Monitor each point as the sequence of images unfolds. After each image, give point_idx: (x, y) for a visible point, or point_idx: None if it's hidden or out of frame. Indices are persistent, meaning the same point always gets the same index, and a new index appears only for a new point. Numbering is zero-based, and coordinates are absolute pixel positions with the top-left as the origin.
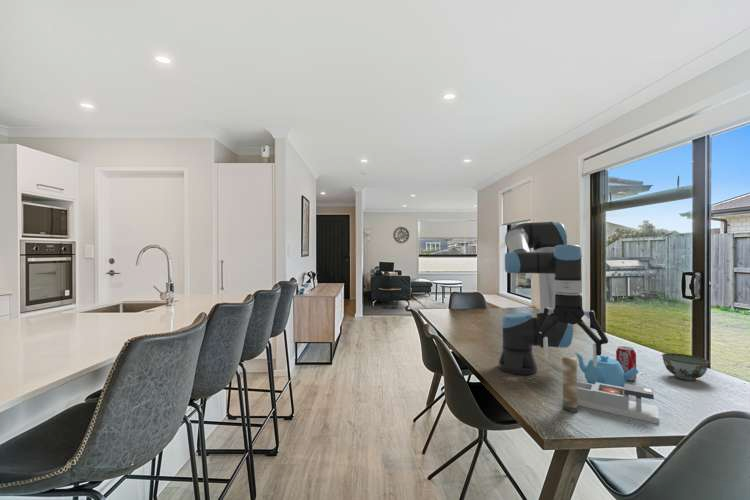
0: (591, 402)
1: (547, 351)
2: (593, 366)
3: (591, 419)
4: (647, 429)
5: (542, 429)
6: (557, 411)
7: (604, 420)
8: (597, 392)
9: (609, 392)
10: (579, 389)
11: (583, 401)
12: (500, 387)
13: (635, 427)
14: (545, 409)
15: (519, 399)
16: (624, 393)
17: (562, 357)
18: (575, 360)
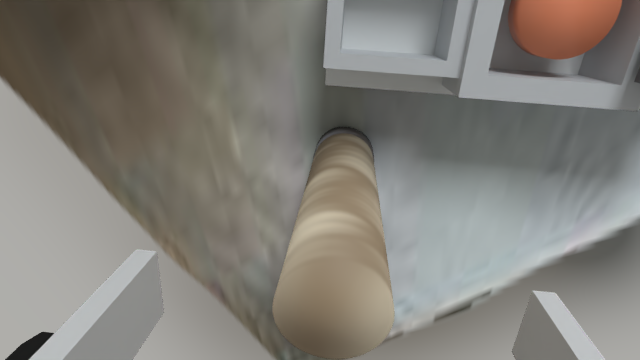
0: (435, 77)
1: (127, 301)
2: (513, 353)
3: (420, 204)
4: (613, 190)
5: (280, 341)
6: (300, 196)
7: (467, 189)
8: (480, 98)
9: (553, 45)
10: (386, 71)
11: (399, 85)
12: (12, 50)
13: (571, 195)
14: (257, 200)
15: (144, 154)
16: (638, 81)
17: (275, 311)
18: (383, 336)
